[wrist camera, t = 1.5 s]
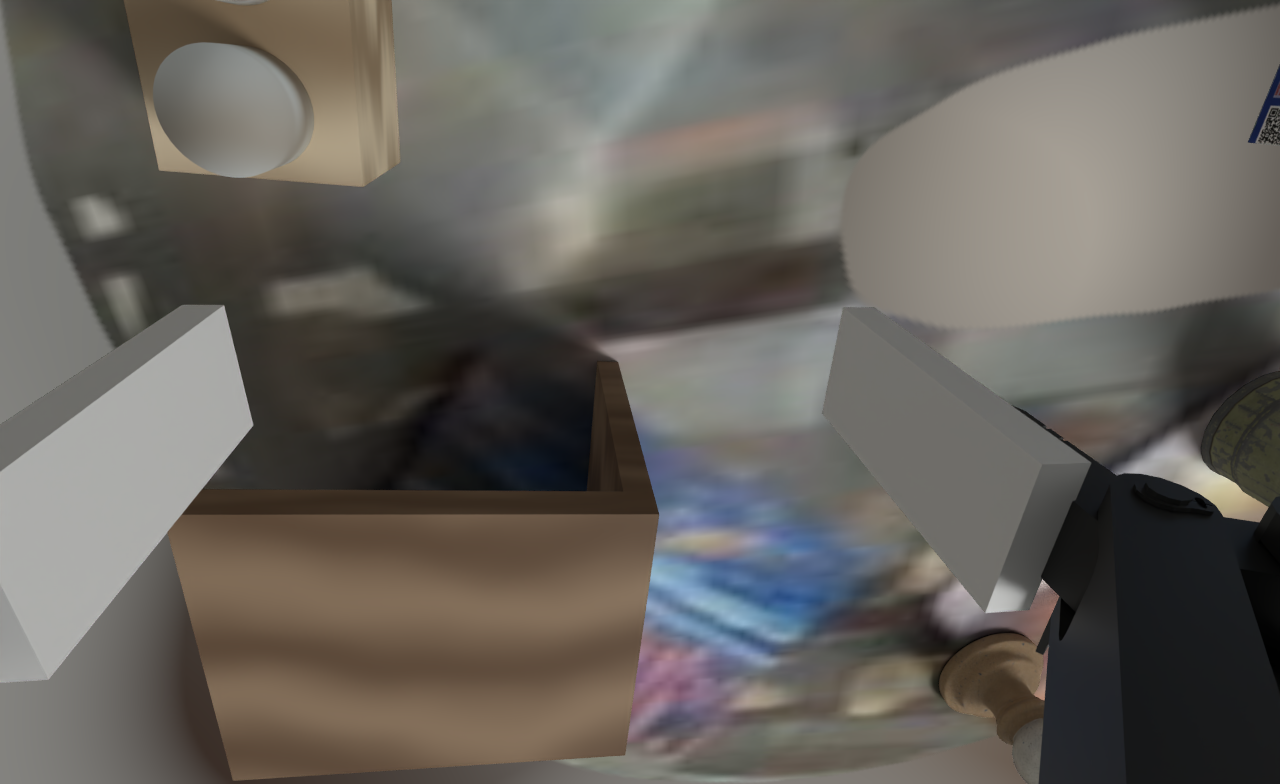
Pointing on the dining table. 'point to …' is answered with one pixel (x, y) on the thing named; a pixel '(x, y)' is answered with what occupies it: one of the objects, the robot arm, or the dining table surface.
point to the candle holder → (1001, 693)
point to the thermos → (1248, 439)
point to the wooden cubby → (424, 616)
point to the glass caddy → (269, 87)
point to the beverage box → (1269, 117)
